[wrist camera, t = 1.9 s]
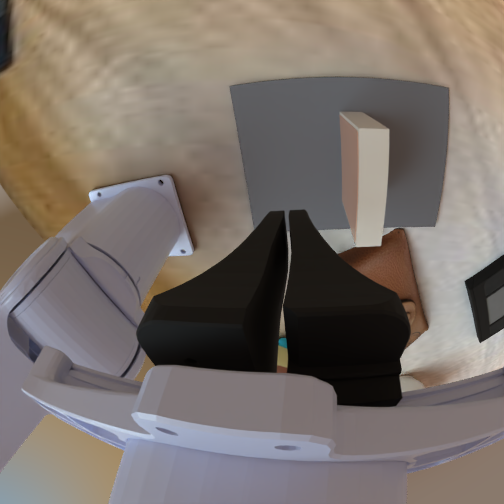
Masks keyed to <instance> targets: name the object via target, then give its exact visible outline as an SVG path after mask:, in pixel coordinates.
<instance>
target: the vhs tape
mask: <svg viewBox="0 0 504 504" xmlns="http://www.w3.org/2000/svg"><path fill="white" fill-rule="evenodd" d="M465 285H466V288H467V292H468V296H469V300H470V304H471V308H472V313H473V317H474V322H475V327H476V333H477V337H478V339H479V342H480V343H481V342H483V341H484V340H486V339H488V338H489V337H491V336H492V335H494V334H496V333H497V332H499V331H500V330H502V329H503V328H504V255H502V256H501V257H500V258H498V259H497V260H495V261H494V262H493V263H491V264H490V265H488V266H487V267H485V268H484V269H483V270H481V271H480V272H478V273H477V274H475V275H474V276H473V277H470V278H469V279H467V280H466V281H465Z"/></svg>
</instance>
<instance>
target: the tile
mask: <svg viewBox="0 0 504 504" xmlns="http://www.w3.org/2000/svg"><path fill="white" fill-rule="evenodd" d="M339 113H340V115H339V117H340V134H341V158H342V202H343V206H344V209H345V212H346V215H347V218H348V222H349V225H350V229H351V232H352V235H353V239H354V243H355V246H356V247H371V246H381V242H382V234H383V226H384V218H385V208H386V197H387V184H388V167H389V129H388V128H387V127H385V126H384V125H382V124H381V123H379V122H378V121H376V120H374V119H373V118H371V117H370V116H368V115H366V114H365V113H363V112H339Z"/></svg>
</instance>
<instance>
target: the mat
mask: <svg viewBox="0 0 504 504" xmlns="http://www.w3.org/2000/svg"><path fill="white" fill-rule="evenodd" d="M230 91H231V97H232V103H233V108H234V114H235V120H236V125H237V131H238V137H239V142H240V148H241V154H242V159H243V165H244V171H245V177H246V182H247V188H248V194H249V200H250V206H251V212H252V217H253V223H254V229H255V228H256V227H257V226H258V225H259V224H260V222H261V221H262V220H263V219H264V217H265V216H266V215H267V214H268V213H269V212H270V211H283V210H284V211H285V221H286V231H290V228H289V217H288V216H289V211H290V210H303V209H305V210H306V211H307V212H308V215H309V217H310V219H311V221H312V223H313V224H314V226H315V228H316V229H317V230H324V229H350V225H349V222H348V218H347V215H346V212H345V209H344V206H343V202H342V158H341V134H340V117H339V115H340V113H339V112H363V113H365V114H366V115H368V116H370V117H371V118H373V119H374V120H376V121H378V122H379V123H381V124H382V125H384V126H385V127H387V128H388V129H389V167H388V184H387V197H386V208H385V218H384V226H383V228H387V227H435V224H436V220H437V215H438V210H439V204H440V198H441V192H442V186H443V179H444V171H445V163H446V152H447V140H448V119H449V88H446V87H441V86H435V85H429V84H423V83H416V82H409V81H400V80H390V79H377V78H358V77H315V78H295V79H282V80H272V81H263V82H255V83H247V84H240V85H234V86H230Z"/></svg>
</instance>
